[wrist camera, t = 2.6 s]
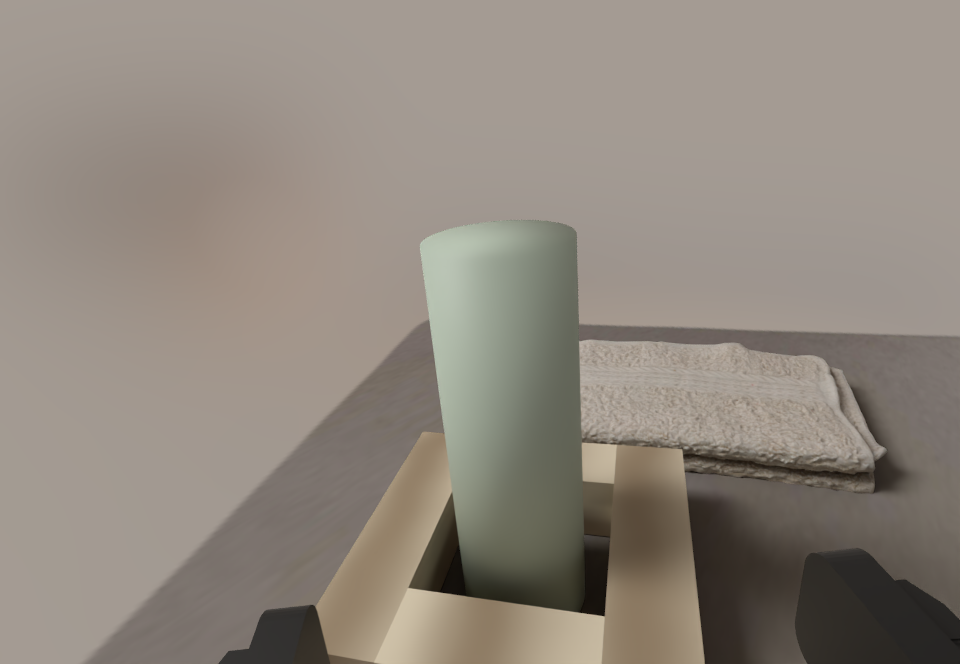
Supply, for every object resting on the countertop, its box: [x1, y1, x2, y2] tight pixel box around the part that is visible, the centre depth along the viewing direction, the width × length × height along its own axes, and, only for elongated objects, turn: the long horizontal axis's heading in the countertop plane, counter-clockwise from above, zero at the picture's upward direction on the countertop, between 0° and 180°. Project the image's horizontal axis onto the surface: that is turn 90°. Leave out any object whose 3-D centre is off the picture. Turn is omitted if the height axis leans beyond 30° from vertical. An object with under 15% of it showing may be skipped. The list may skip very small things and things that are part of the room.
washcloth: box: [579, 340, 887, 494], centre depth 35 cm, size 12×18×3 cm, turn 73°
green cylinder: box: [420, 220, 585, 613], centre depth 21 cm, size 5×5×15 cm
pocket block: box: [316, 432, 705, 664], centre depth 24 cm, size 13×13×3 cm
